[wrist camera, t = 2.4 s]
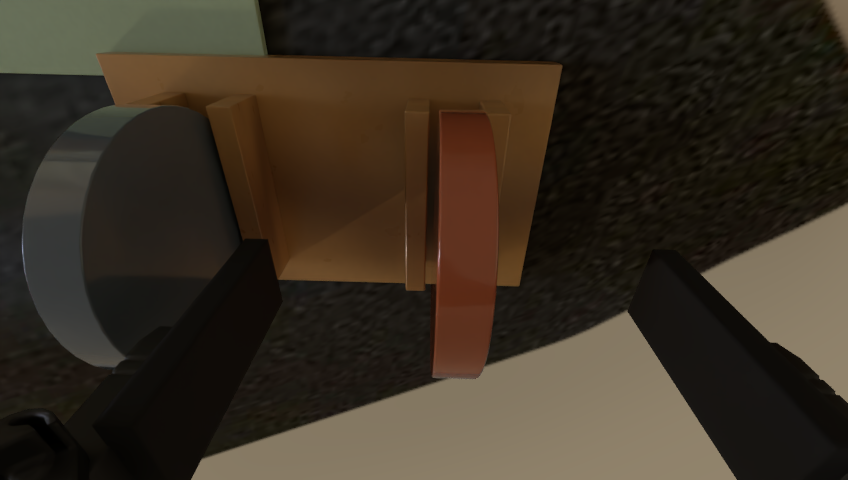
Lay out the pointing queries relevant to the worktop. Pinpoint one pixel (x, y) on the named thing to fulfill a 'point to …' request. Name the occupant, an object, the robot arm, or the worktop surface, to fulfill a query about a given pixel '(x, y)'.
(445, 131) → the terracotta coaster
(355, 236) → the coaster rack
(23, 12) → the sage mat
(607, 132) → the worktop surface
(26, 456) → the robot arm
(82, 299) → the slate coaster
